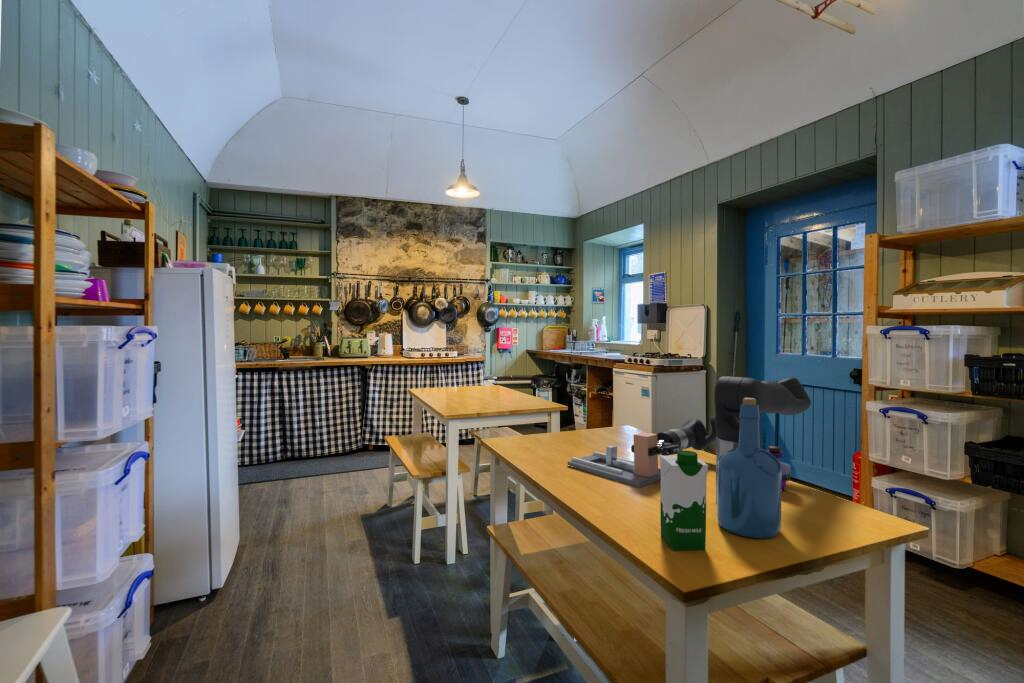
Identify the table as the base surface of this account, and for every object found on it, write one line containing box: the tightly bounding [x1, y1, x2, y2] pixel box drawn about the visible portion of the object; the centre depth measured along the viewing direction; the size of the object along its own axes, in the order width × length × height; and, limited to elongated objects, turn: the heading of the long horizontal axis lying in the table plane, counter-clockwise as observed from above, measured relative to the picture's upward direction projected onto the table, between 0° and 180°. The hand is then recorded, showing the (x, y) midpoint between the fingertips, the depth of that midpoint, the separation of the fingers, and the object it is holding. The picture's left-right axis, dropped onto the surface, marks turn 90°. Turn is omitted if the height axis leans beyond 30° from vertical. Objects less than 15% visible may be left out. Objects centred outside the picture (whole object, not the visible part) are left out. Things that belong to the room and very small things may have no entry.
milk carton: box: [659, 450, 709, 551], centre depth 103 cm, size 9×9×20 cm
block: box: [633, 431, 659, 477], centre depth 145 cm, size 5×5×12 cm
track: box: [567, 451, 661, 488], centre depth 154 cm, size 16×28×2 cm, turn 41°
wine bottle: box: [716, 398, 782, 539], centre depth 110 cm, size 14×13×30 cm
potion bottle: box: [765, 445, 792, 490], centre depth 137 cm, size 9×9×12 cm
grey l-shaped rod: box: [605, 445, 634, 472], centre depth 152 cm, size 4×12×6 cm, turn 41°
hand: (640, 450), depth 144 cm, fingers closed on block, 5 cm apart
